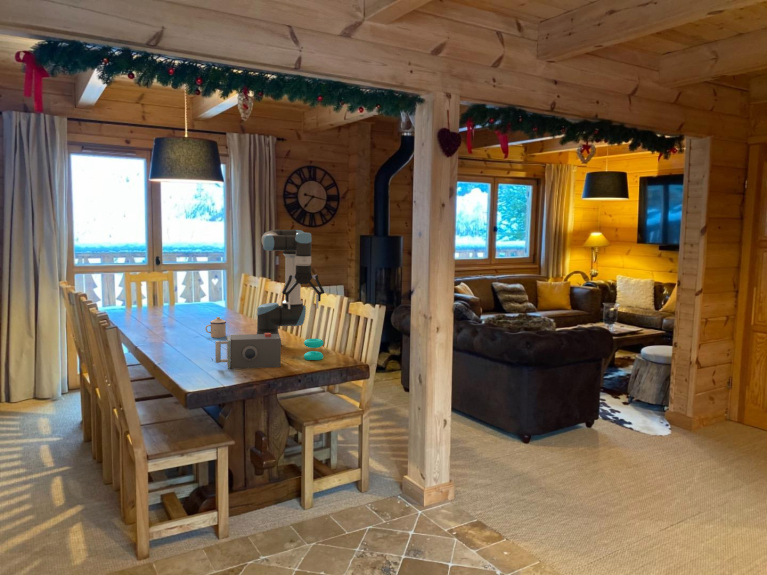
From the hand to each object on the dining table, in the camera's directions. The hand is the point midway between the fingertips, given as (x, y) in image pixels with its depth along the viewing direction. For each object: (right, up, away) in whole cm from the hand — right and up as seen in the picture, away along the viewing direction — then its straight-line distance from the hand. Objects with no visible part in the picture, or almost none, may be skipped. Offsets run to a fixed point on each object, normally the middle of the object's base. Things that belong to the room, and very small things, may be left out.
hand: (303, 308), depth 297 cm
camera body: (-23, -28, -1) cm, 36 cm away
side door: (-38, -27, -3) cm, 47 cm away
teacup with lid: (-61, -19, +66) cm, 92 cm away
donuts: (+3, -27, +16) cm, 31 cm away
